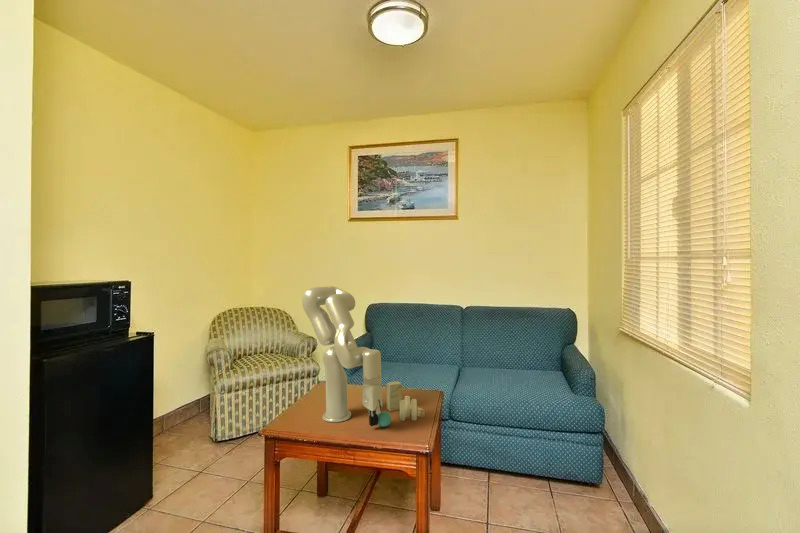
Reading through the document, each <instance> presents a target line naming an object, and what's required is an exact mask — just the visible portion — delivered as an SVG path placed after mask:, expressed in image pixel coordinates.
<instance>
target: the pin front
mask: <svg viewBox="0 0 800 533" xmlns="http://www.w3.org/2000/svg"><path fill="white" fill-rule="evenodd" d="M406 418H407V417H406V416H405V398H403V399H402V400H400V410H399V421H400V422H405V421H406Z"/></svg>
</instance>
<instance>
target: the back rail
mask: <svg viewBox="0 0 800 533" xmlns="http://www.w3.org/2000/svg"><path fill="white" fill-rule="evenodd" d="M410 412H411V402H410ZM417 417H420V418H425V417H426V414H425V409H423V408H422V407H419V406H418V405H417Z"/></svg>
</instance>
